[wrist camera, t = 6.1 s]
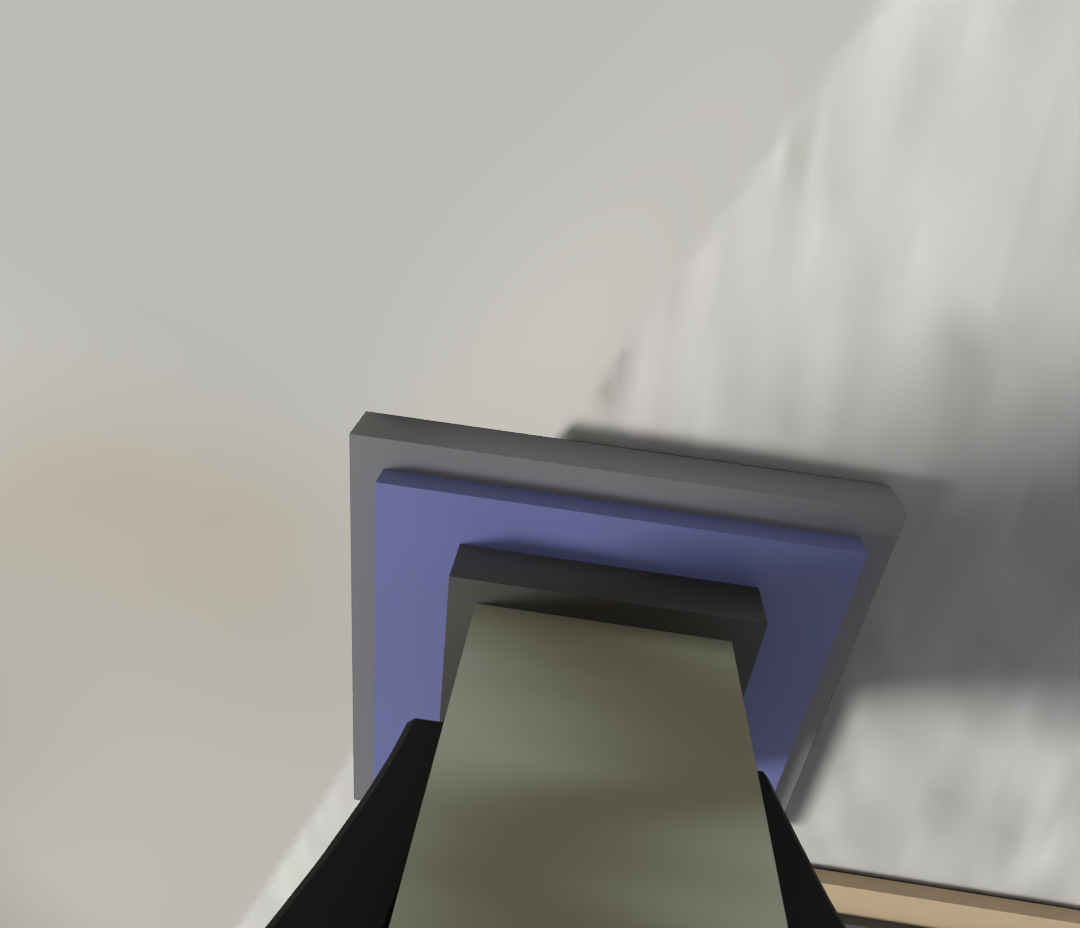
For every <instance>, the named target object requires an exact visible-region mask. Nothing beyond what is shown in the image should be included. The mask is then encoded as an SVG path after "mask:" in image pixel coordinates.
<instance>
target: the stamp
mask: <svg viewBox="0 0 1080 928" xmlns="http://www.w3.org/2000/svg"><path fill="white" fill-rule="evenodd" d="M767 625H768V622H767V618H766V614H765V611H764V607H763V603H762V599H761V596H760V592H759V588H758V587H751V586H745V585H738V584H731V583H724V582H717V581H711V580H704V579H697V578H690V577H683V576H676V575H670V574H663V573H656V572H649V571H642V570H636V569H629V568H622V567H615V566H608V565H602V564H595V563H588V562H581V561H574V560H568V559H561V558H554V557H547V556H540V555H534V554H527V553H520V552H513V551H506V550H500V549H493V548H486V547H479V546H472V545H466V544H460V545H459V548H458V551H457V554H456V557H455V560H454V563H453V566H452V569H451V572H450V575H449V585H448V600H447V616H446V631H445V646H444V661H443V677H442V692H441V707H440V722H444V724H443V727H442V731H441V735H440V738H439V742H438V746H437V750H436V753H435V757H434V761H433V765H432V768H431V772H430V776H429V780H428V783H427V787H426V791H425V794H424V798H423V802H422V806H421V809H420V813H419V817H418V821H417V824H416V828H415V832H414V836H413V839H412V843H411V847H410V850H409V854H408V858H407V862H406V865H405V869H404V873H403V877H402V880H401V884H400V888H399V892H398V895H397V899H396V903H395V906H394V910H393V914H392V918H391V921H390V925H389V928H788V925H787V920H786V915H785V910H784V905H783V900H782V895H781V890H780V884H779V879H778V874H777V869H776V864H775V859H774V854H773V849H772V844H771V839H770V834H769V828H768V823H767V818H766V813H765V808H764V803H763V798H762V793H761V788H760V783H759V777H758V772H757V767H756V762H755V757H754V752H753V747H752V742H751V737H750V732H749V727H748V721H747V716H746V711H745V706H744V701H743V697H744V694H745V691H746V688H747V685H748V682H749V679H750V676H751V673H752V670H753V667H754V664H755V661H756V658H757V655H758V652H759V649H760V646H761V643H762V640H763V637H764V634H765V631H766V628H767Z"/></svg>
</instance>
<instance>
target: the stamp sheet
mask: <svg viewBox="0 0 1080 928" xmlns="http://www.w3.org/2000/svg"><path fill="white" fill-rule="evenodd" d="M813 869H814V871H815V873H816V874H817V876H818V878H819V880H820V882H821V884H822V886H823V887H824V889H825V891H826V893H827V895H828V897H829V899H830V900H831V902H832V904H833V906H834V908H835V909H836V911H837V913H838V915H839V916H840V918H841V920H842V922H843V923H844V925H845V927H846V928H1080V910H1075V909H1068V908H1062V907H1056V906H1049V905H1043V904H1037V903H1030V902H1024V901H1018V900H1011V899H1005V898H999V897H992V896H986V895H980V894H973V893H967V892H961V891H954V890H948V889H942V888H935V887H929V886H923V885H916V884H910V883H904V882H897V881H891V880H885V879H878V878H872V877H866V876H859V875H853V874H847V873H840V872H834V871H828V870H821V869H815V868H813Z"/></svg>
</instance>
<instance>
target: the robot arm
mask: <svg viewBox="0 0 1080 928" xmlns="http://www.w3.org/2000/svg"><path fill="white" fill-rule="evenodd" d="M443 724H444V722H438V721H432V720H425V719H419V718H414V719H413V720H411V721H409V722H407V724H406V726H405V728H404V730H403V732H402V733H401V735H400V737H399V739H398V741H397V743H396V745H395V746H394V748H393V750H392V752H391V753H390V755H389V757H388V759H387V760H386V762H385V764H384V765H383V767H382V768H381V770H380V772H379V773H378V775H377V776H376V778H375V780H374V781H373V783H372V784H371V786H370V787H369V789H368V790H367V792H366V793H365V795H364V796H363V798H362V800H361V801H360V803H359V804H358V806H357V807H356V808H355V810H354V811H353V813H352V814H351V815H350V817H349V818H348V820H347V821H346V823H345V824H344V825H343V827H342V828H341V830H340V831H339V832H338V834H337V835H336V837H335V838H334V839H333V841H332V842H331V844H330V845H329V846H328V848H327V849H326V851H325V852H324V853H323V855H322V856H321V858H320V859H319V860H318V862H317V863H316V864H315V866H314V867H313V868H312V869H311V871H310V872H309V873H308V874H307V876H306V877H305V878H304V880H303V881H302V882H301V883H300V885H299V886H298V887H297V888H296V890H295V891H294V892H293V893H292V895H291V896H290V897H289V899H288V900H287V901H286V902H285V904H284V905H283V906H282V907H281V909H280V910H279V911H278V912H277V914H276V915H275V916H274V918H273V919H272V920H271V921H270V923H269V924H268V925H267V926H266V927H265V928H389V925H390V921H391V918H392V914H393V910H394V906H395V903H396V899H397V895H398V892H399V888H400V884H401V880H402V877H403V873H404V869H405V865H406V862H407V858H408V854H409V850H410V847H411V843H412V839H413V836H414V832H415V828H416V824H417V821H418V817H419V813H420V809H421V806H422V802H423V798H424V794H425V791H426V787H427V783H428V780H429V776H430V772H431V768H432V765H433V761H434V757H435V753H436V750H437V746H438V742H439V738H440V735H441V731H442V727H443ZM757 772H758V777H759V783H760V788H761V793H762V798H763V803H764V808H765V813H766V818H767V823H768V828H769V834H770V839H771V844H772V849H773V854H774V859H775V864H776V869H777V874H778V879H779V884H780V890H781V895H782V900H783V905H784V910H785V915H786V920H787V925H788V928H846V927H845V925H844V923H843V922H842V920H841V918H840V916H839V915H838V913H837V911H836V909H835V908H834V906H833V904H832V902H831V900H830V899H829V897H828V895H827V893H826V891H825V889H824V887H823V886H822V884H821V882H820V880H819V878H818V876H817V874H816V873H815V871H814V869H813V867H812V865H811V863H810V861H809V859H808V857H807V855H806V853H805V851H804V849H803V848H802V846H801V844H800V842H799V840H798V838H797V836H796V834H795V832H794V830H793V828H792V826H791V824H790V822H789V820H788V818H787V816H786V814H785V812H784V810H783V807H782V805H781V803H780V801H779V799H778V797H777V795H776V793H775V791H774V789H773V787H772V785H771V782H770V780H769V778H768V777H767V776H766V775H765V773H764V772H763V771H757Z"/></svg>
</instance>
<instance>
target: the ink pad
mask: <svg viewBox="0 0 1080 928" xmlns="http://www.w3.org/2000/svg"><path fill="white" fill-rule="evenodd" d="M350 501H351V503H350V505H351V506H350V510H351V588H352V589H351V590H352V665H353V666H352V667H353V668H352V669H353V750H354V799H356V800H362V798H363V796H364V795H365V793H366V792H367V790H368V789H369V787H370V786H371V784H372V783H373V781H374V780H375V778H376V776H377V775H378V773H379V772H380V770H381V768H382V767H383V765H384V764H385V762H386V760H387V759H388V757H389V755H390V753H391V752H392V750H393V748H394V746H395V745H396V743H397V741H398V739H399V737H400V735H401V733H402V732H403V730H404V728H405V726H406V724H407V722H409V721H411V720H413V719H414V718H419V719H425V720H432V721H438V722H440V707H441V692H442V677H443V661H444V646H445V631H446V616H447V600H448V585H449V575H450V572H451V569H452V566H453V563H454V560H455V557H456V554H457V551H458V548H459V545H460V544H466V545H472V546H479V547H486V548H493V549H500V550H506V551H513V552H520V553H527V554H534V555H540V556H547V557H554V558H561V559H568V560H574V561H581V562H588V563H595V564H602V565H608V566H615V567H622V568H629V569H636V570H642V571H649V572H656V573H663V574H670V575H676V576H683V577H690V578H697V579H704V580H711V581H717V582H724V583H731V584H738V585H745V586H751V587H758V588H759V592H760V596H761V599H762V603H763V607H764V611H765V614H766V618H767V622H768V625H767V628H766V631H765V634H764V637H763V640H762V643H761V646H760V649H759V652H758V655H757V658H756V661H755V664H754V667H753V670H752V673H751V676H750V679H749V682H748V685H747V688H746V691H745V694H744V697H743V701H744V706H745V711H746V716H747V721H748V727H749V732H750V737H751V742H752V747H753V752H754V757H755V762H756V767H757V771H763V772H764V773H765V775H766V776H767V777H768V778H769V780H770V782H771V785H772V787H773V789H774V791H775V793H776V795H777V797H778V799H779V801H780V803H781V805H782V807H783V810H784V812H785V809H786V807H787V805H788V802H789V800H790V797H791V795H792V792H793V790H794V788H795V785H796V783H797V780H798V778H799V775H800V773H801V771H802V768H803V766H804V763H805V761H806V758H807V756H808V754H809V751H810V749H811V746H812V744H813V741H814V739H815V737H816V734H817V732H818V729H819V727H820V724H821V722H822V720H823V717H824V715H825V712H826V710H827V707H828V705H829V702H830V700H831V698H832V695H833V693H834V690H835V688H836V685H837V683H838V681H839V678H840V676H841V673H842V671H843V668H844V666H845V664H846V661H847V659H848V656H849V654H850V651H851V649H852V647H853V644H854V642H855V639H856V637H857V634H858V632H859V630H860V627H861V625H862V622H863V620H864V617H865V615H866V613H867V610H868V608H869V605H870V603H871V600H872V598H873V596H874V593H875V591H876V588H877V586H878V583H879V581H880V579H881V576H882V574H883V571H884V569H885V566H886V564H887V561H888V559H889V557H890V554H891V552H892V549H893V547H894V544H895V542H896V540H897V537H898V535H899V532H900V530H901V527H902V525H903V523H904V520H905V518H906V515H907V513H906V511H905V510H904V508H903V507H902V505H901V504H900V502H899V500H898V499H897V497H896V496H895V494H894V493H893V491H892V490H891V488H890V487H889V486H887V485H880V484H873V483H866V482H859V481H852V480H845V479H838V478H831V477H824V476H817V475H810V474H803V473H796V472H789V471H782V470H775V469H768V468H760V467H753V466H746V465H739V464H732V463H725V462H718V461H711V460H704V459H697V458H690V457H683V456H676V455H669V454H662V453H655V452H648V451H641V450H634V449H627V448H620V447H613V446H606V445H599V444H592V443H585V442H578V441H571V440H564V439H557V438H550V437H543V436H535V435H528V434H521V433H514V432H507V431H500V430H493V429H486V428H479V427H472V426H465V425H458V424H451V423H444V422H437V421H430V420H423V419H416V418H409V417H402V416H394V415H388V414H380V413H374V412H365V414H364V415H363V416H362V418H361V419H360V421H359V422H358V423H357V424H356V426H355V427H354V429H353V430H352V431H351V433H350Z"/></svg>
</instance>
